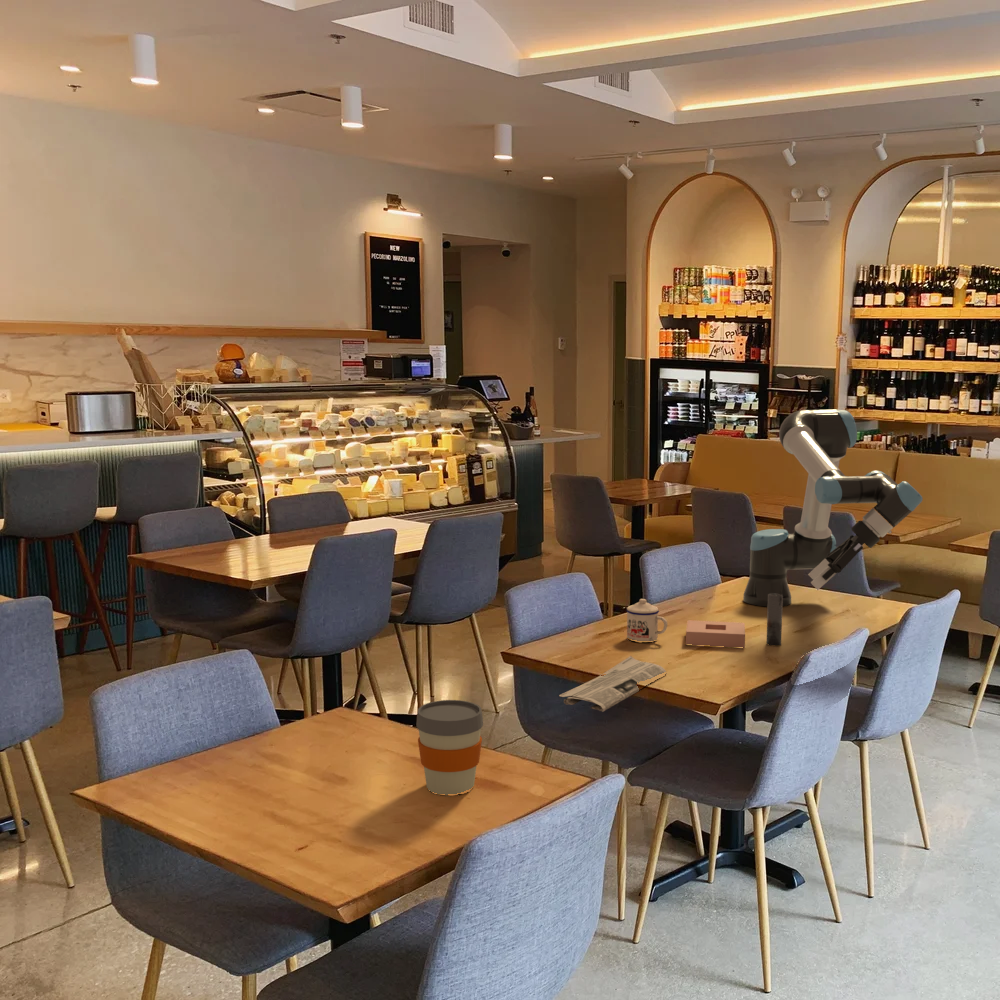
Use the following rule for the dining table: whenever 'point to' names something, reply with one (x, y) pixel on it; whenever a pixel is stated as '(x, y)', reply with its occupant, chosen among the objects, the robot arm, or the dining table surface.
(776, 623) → the pin
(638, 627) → the teacup with lid
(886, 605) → the dining table surface
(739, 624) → the pink block with hole
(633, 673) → the newspaper
